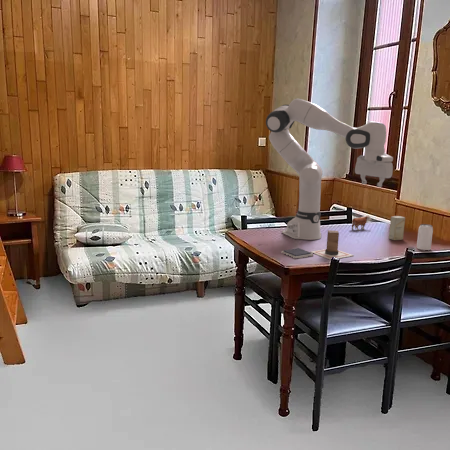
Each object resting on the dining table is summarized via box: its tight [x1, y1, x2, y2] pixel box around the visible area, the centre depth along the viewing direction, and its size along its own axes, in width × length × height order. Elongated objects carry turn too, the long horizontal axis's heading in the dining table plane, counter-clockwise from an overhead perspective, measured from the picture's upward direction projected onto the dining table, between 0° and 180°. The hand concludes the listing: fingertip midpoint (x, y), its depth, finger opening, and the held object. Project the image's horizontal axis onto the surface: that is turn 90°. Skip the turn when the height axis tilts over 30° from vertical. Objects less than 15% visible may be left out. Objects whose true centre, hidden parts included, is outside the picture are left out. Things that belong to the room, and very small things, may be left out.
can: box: [416, 223, 434, 251], centre depth 232 cm, size 6×6×12 cm
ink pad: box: [281, 247, 314, 259], centre depth 218 cm, size 10×10×2 cm
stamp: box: [325, 230, 340, 255], centre depth 219 cm, size 6×6×10 cm
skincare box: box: [388, 215, 406, 241], centre depth 250 cm, size 6×4×12 cm
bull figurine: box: [351, 214, 372, 231], centre depth 271 cm, size 4×13×8 cm, turn 116°
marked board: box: [310, 248, 354, 261], centre depth 220 cm, size 14×14×1 cm
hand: (371, 185), depth 226 cm, fingers open, 8 cm apart
